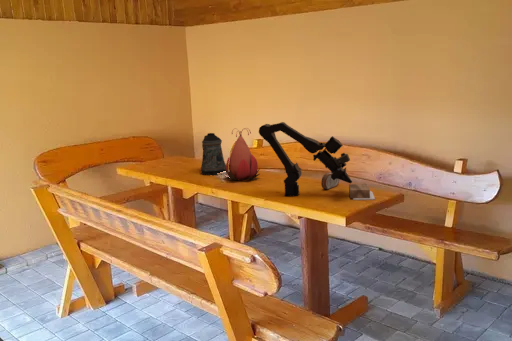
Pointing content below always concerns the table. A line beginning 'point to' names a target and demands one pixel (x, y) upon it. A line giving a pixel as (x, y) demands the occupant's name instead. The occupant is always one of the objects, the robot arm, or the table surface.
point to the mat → (366, 198)
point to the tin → (328, 181)
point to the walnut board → (359, 191)
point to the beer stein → (212, 155)
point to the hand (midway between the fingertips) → (351, 182)
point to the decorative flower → (241, 162)
